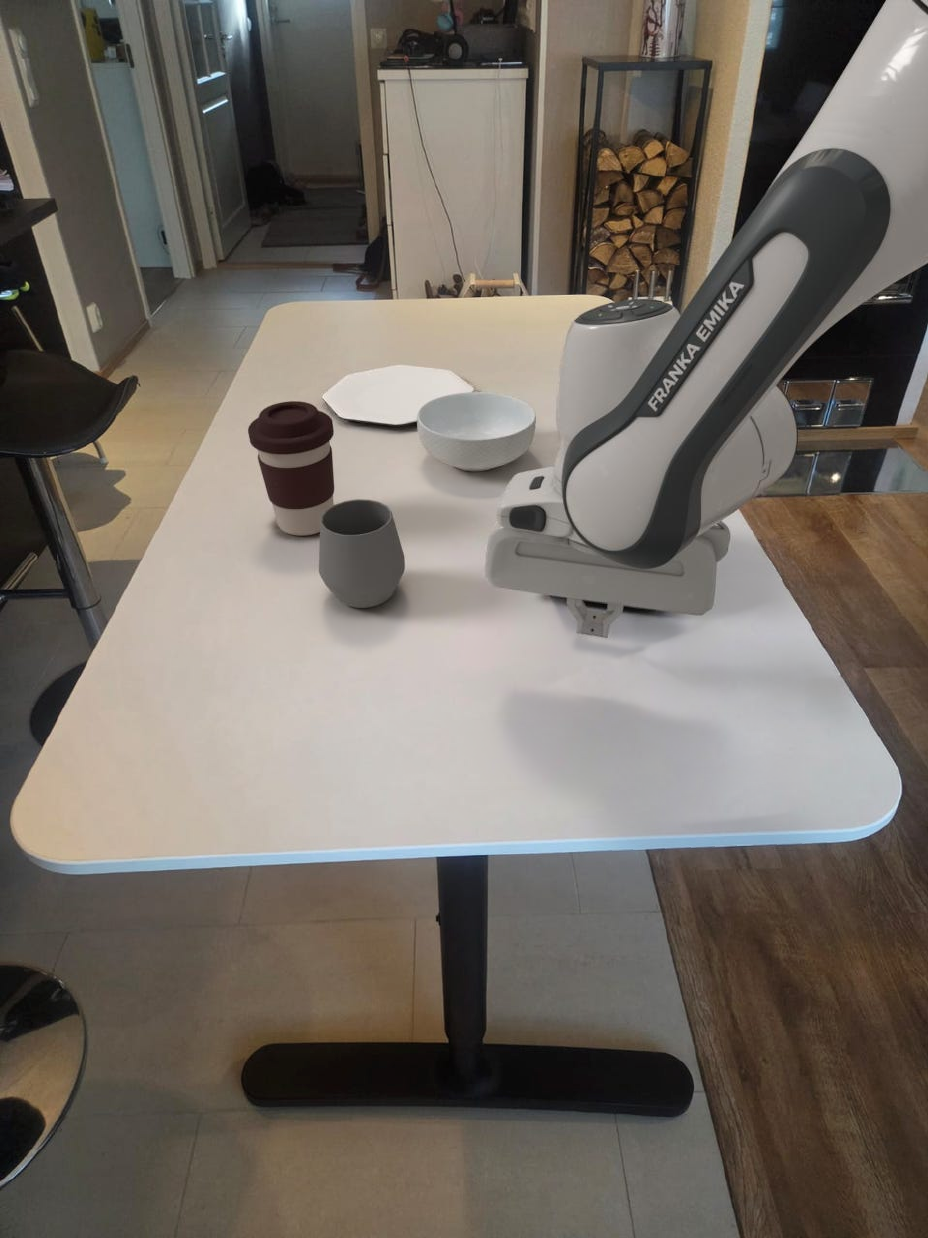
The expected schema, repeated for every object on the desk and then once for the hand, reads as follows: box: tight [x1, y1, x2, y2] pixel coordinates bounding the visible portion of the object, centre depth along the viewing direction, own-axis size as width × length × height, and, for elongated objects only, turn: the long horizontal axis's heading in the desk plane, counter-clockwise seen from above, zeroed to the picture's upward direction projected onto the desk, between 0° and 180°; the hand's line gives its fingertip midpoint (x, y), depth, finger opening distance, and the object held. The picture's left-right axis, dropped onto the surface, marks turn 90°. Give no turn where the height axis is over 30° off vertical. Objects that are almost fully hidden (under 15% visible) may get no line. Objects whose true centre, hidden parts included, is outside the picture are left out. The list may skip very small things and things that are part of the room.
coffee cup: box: [247, 400, 335, 536], centre depth 98 cm, size 10×10×15 cm
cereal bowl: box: [416, 391, 537, 472], centre depth 114 cm, size 17×17×7 cm
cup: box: [318, 498, 406, 609], centre depth 87 cm, size 10×9×10 cm
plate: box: [321, 364, 475, 427], centre depth 133 cm, size 24×24×2 cm
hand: (593, 632), depth 75 cm, fingers closed
